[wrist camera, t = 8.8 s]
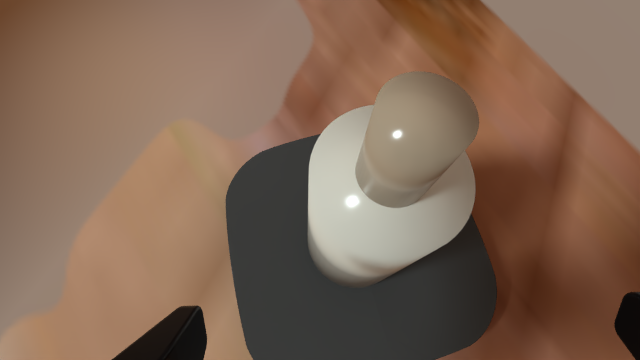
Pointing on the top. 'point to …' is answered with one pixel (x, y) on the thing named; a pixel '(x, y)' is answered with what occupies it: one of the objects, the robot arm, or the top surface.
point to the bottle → (391, 180)
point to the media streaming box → (336, 300)
